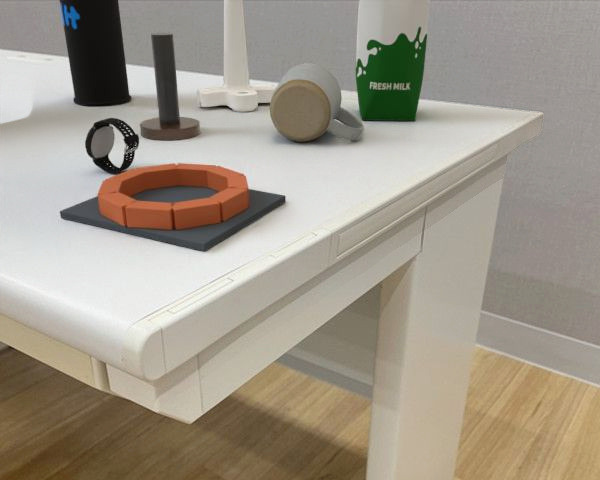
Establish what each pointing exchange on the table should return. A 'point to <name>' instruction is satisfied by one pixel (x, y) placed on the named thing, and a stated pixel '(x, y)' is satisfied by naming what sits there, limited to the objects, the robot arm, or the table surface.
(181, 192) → the mat
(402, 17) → the milk carton
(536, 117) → the table surface
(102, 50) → the aerosol can
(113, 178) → the ring
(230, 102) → the white footed stand
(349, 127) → the ceramic mug
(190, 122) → the post
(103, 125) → the smartwatch
